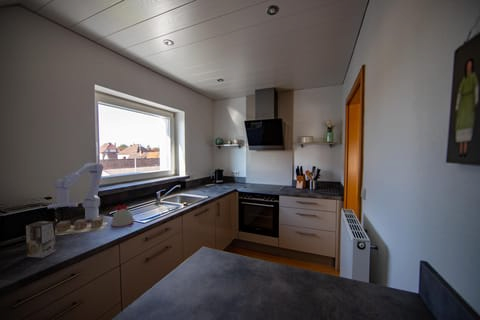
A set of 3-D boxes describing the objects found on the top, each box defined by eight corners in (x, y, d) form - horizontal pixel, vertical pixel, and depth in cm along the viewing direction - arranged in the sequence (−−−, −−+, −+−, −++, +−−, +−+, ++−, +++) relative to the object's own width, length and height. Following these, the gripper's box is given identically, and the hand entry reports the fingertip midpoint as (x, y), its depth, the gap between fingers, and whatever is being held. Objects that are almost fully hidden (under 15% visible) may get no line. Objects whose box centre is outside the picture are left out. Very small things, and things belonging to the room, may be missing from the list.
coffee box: (56, 251, 95) (56, 221, 95) (42, 258, 89) (41, 226, 88) (41, 249, 96) (40, 220, 95) (25, 256, 90) (25, 225, 89)
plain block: (60, 228, 119) (60, 221, 119) (70, 227, 121) (70, 220, 121) (56, 232, 115) (56, 224, 114) (66, 230, 117) (66, 223, 116)
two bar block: (94, 225, 126) (94, 218, 126) (102, 224, 128) (102, 217, 128) (91, 228, 121) (91, 220, 121) (100, 227, 123) (100, 219, 123)
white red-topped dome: (113, 222, 135) (113, 202, 134) (134, 219, 141) (134, 201, 140) (109, 229, 122) (109, 208, 122) (132, 226, 128) (132, 206, 128)
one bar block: (77, 227, 123) (77, 219, 123) (86, 226, 125) (86, 218, 124) (74, 230, 118) (74, 222, 118) (83, 229, 120) (83, 221, 120)
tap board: (60, 227, 123) (60, 226, 123) (109, 222, 134) (109, 221, 134) (45, 238, 109) (45, 236, 109) (102, 231, 119) (102, 229, 119)
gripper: (44, 200, 111) (44, 221, 111) (74, 198, 116) (74, 218, 117) (51, 197, 117) (51, 217, 118) (79, 195, 123) (79, 215, 123)
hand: (63, 218), depth 118 cm, fingers closed
